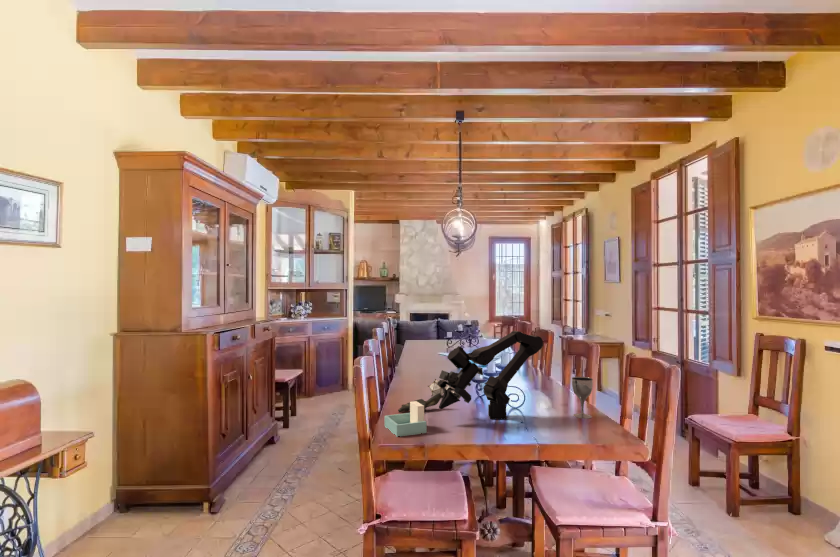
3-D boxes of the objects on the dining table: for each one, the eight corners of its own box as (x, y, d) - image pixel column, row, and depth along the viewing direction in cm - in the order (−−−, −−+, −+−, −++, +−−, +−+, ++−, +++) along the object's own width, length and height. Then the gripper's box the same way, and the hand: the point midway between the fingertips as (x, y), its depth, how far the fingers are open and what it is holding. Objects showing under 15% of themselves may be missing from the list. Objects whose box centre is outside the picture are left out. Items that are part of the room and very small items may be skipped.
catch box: (412, 422, 182) (412, 412, 183) (426, 432, 170) (426, 421, 170) (384, 426, 178) (384, 415, 178) (396, 436, 166) (396, 425, 166)
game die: (434, 403, 227) (429, 384, 232) (451, 397, 226) (445, 378, 231) (429, 398, 219) (424, 378, 225) (446, 392, 218) (440, 372, 224)
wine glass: (593, 414, 193) (593, 377, 193) (592, 419, 186) (591, 381, 186) (573, 412, 197) (573, 376, 197) (570, 417, 189) (570, 379, 190)
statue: (402, 420, 195) (446, 406, 202) (400, 408, 194) (444, 394, 201) (397, 414, 201) (440, 400, 208) (395, 402, 200) (438, 389, 206)
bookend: (416, 425, 180) (416, 401, 180) (424, 430, 173) (424, 405, 173) (392, 428, 176) (392, 403, 176) (399, 433, 169) (399, 408, 170)
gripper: (441, 359, 191) (416, 389, 186) (463, 366, 173) (436, 400, 169) (459, 377, 194) (434, 407, 189) (482, 386, 176) (456, 419, 172)
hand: (439, 408), depth 180 cm, fingers closed
